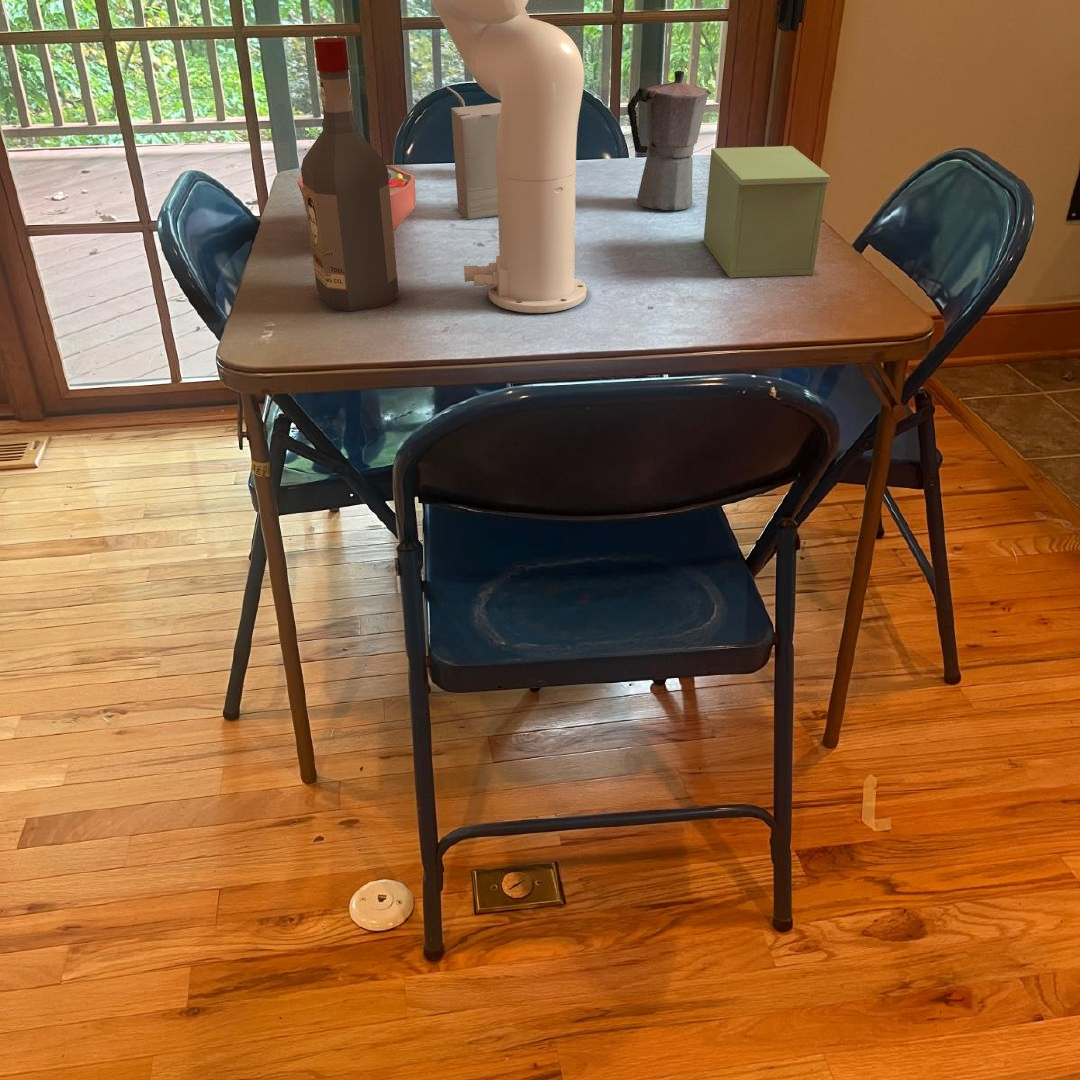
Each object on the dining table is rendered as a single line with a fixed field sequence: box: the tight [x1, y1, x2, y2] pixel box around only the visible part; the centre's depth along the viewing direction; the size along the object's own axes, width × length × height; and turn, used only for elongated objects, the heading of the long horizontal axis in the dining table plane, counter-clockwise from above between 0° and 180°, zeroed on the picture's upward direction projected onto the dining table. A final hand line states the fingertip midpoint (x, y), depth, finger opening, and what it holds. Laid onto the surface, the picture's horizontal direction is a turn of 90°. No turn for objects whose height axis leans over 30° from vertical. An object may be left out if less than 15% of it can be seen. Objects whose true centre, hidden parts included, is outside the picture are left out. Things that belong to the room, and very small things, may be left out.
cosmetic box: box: [450, 102, 501, 220], centre depth 156 cm, size 8×7×16 cm
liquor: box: [300, 37, 399, 312], centre depth 121 cm, size 9×9×30 cm
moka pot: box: [626, 70, 712, 211], centre depth 157 cm, size 10×15×20 cm, turn 124°
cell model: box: [296, 165, 417, 234], centre depth 147 cm, size 17×20×11 cm
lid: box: [710, 145, 831, 185], centre depth 134 cm, size 16×12×1 cm
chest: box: [703, 155, 828, 279], centre depth 138 cm, size 16×12×12 cm
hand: (787, 29), depth 123 cm, fingers closed
